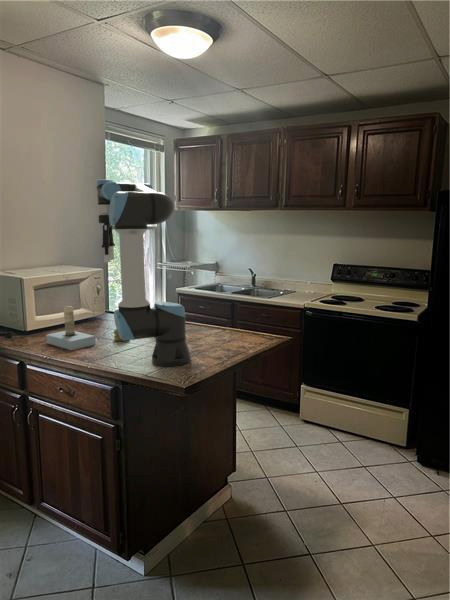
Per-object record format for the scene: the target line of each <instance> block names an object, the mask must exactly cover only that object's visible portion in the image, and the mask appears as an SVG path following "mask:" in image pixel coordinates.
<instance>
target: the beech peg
mask: <svg viewBox="0 0 450 600" xmlns="http://www.w3.org/2000/svg"><path fill="white" fill-rule="evenodd" d="M63 315H64V316H63V317H64V331H65V333H66V334H65V336H66V337H72V336H75V331H76V330H75V317H74V316H75V315H74V306H71V305H67V306H66V305H65V306H64V307H63Z"/></svg>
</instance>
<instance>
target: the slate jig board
mask: <svg viewBox="0 0 450 600" xmlns="http://www.w3.org/2000/svg"><path fill="white" fill-rule="evenodd" d="M65 334H66V333H65V330H62V331H57V332H53V333H48V334H46V343H47V344H48V345H52V346H55V347H58V348H61V349H62V348H63V349H67V350H69V351H75V350H78V349H82V348H86V347H87V348H88V347H91V346H95V345H96V336H95V335H94V334H93V335H92V334H88V333H84V332H80V331H77V330H75V336H72V337H66V336H65Z"/></svg>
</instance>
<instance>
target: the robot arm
mask: <svg viewBox="0 0 450 600" xmlns="http://www.w3.org/2000/svg"><path fill="white" fill-rule="evenodd" d="M96 192H97V193H96V194H97V214H98V223H99V224H103V225H102V245H101V248H103V260H104V261H103V262H104V263H111V261H114V260H115V253H114V252H115V250H114V248H115V246H116V244H115V242H114V235H113V228H114V232H116V233H117V234H118V237H119V239H118V240H119V241H118V242H119V260H120V280H121V283H120V284H121V297H122V298H121V301H120V302H119V303H118V304H117V305H118V308H117V309H115V310H114V311H113V317H114V323H115V328H116V329H117V332H118V334H119V336H120V338H121V339H122V340H128V341H135V340H142V339H150V338H155V345H154V348H153V352H152V354H151V362H152V364H154V365H155V366H159V367H179V366H185V365H186V364H189V363H190V362H191V361H192V360H191V357H192V355H191V352H190V349H189V347H188V345H187V340H186V317H187V316H186V311H185V310H186V309H185V306H183V305H182V304H180V303H176V302H170V301H169V302H168V301H156V302H154V304H153V306H151V302H150V301H148V299H147V296H146V294H147V293H146V276H145V275H146V272H145V271H146V269H145V250H144V248H145V247H144V246H145V245H144V244H145V243H144V235H145V233H146V231H148V225H152V226H153V225H159V224H162V223H165V222H166V221H168V220H169V219H170V217H172V215H173V212H174V210H175V204H174V201H173V199H172V198H171V197H170V195H168V194H166V193H165V192H162V191H161V192H160V191H158V192H157V191H155V190H154V189H153V186H152V184H150V183H146V182H145V183H144V182H142V183H141V182H136V183H135V182H116V181H114V180H113V179H107V178H106V179H105V178H104V179H103V178H102V179H97V180H96ZM116 329H115V330H116Z"/></svg>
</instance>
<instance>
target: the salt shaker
mask: <svg viewBox="0 0 450 600" xmlns="http://www.w3.org/2000/svg"><path fill="white" fill-rule="evenodd" d="M113 340H114V342H120V343H122V342H128V341H129V340H122V339H121V338H120V336H119V334H118V332H117V329H114V330H113Z"/></svg>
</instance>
